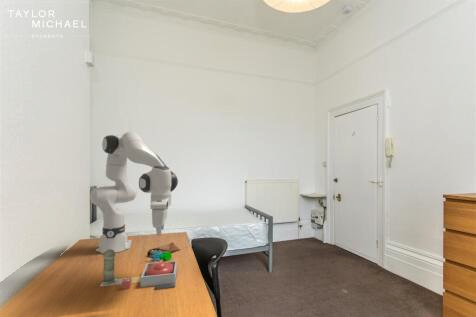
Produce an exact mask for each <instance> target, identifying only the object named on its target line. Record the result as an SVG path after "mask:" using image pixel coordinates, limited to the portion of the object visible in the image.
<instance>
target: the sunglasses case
mask: <svg viewBox="0 0 476 317" xmlns="http://www.w3.org/2000/svg"><path fill="white" fill-rule="evenodd" d="M160 248H161V251H160ZM155 249H156V251H157V254H158V253H159V251H160V253H162V252H169V253H171V254H174V253H177V252H178V251H181V249H180V248H179V247H178V246H177V245H176V244H175V243H174V242H171V243H168V244H163V245H161V246H158V247H156V248H150V249H149V250H148V251H147V254H146V255H147V257H149V258H151V259H152V258H154V257H151V256H149V255H155V256H156V254H155V253H154V252H153V251H155ZM152 250H153V251H152ZM159 258H160V256H159ZM156 260H158V258H157V259H156Z"/></svg>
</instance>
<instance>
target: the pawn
mask: <svg viewBox="0 0 476 317" xmlns="http://www.w3.org/2000/svg"><path fill="white" fill-rule="evenodd" d="M102 254H103V253H102ZM102 258H103V279H102V281H101V284H102V285H108V286H111V285H110V284H113V283H114V282H115V279H116V277H115V258H116V253H115V251H114V250H111V249H109V250H107V251H105V252H104V254H103V255H102ZM115 283H116V282H115ZM115 283H114V284H115Z"/></svg>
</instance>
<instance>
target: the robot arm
mask: <svg viewBox="0 0 476 317" xmlns="http://www.w3.org/2000/svg"><path fill="white" fill-rule="evenodd" d="M101 147H102V150H103V152H104V153H106V154H107V158H106V166H105V177H106V178H107V179H109V180H110V181H112V182H114V183H115V185H110V186H109V185H108V186H107V185H105V186H99V187H95V188H93V189H92V190H91V192H90V194H89V199H90V200H89V201H90V202H91V204H93V205H95V206H96V207H97V208H99V210H100V211H101V213H102V218H103V227H102V230H101V231H102V232H101V233H102V235H100V237H99V244H98V248H96V250H95V251H96V252H99V253H100V254H104V252H105V251H107V250H109V249H111V250H114V251H115V254H116V253H120V252H123V251H126V250H130V248H131V245H132V240H131V239H128V237H129V236H128V233H127V232H126V223H125V213H124V211H122V210H121V209H119V208H115V204H123V203H124V204H125V203H128V202H132V201H134V200H135V199H136V197H137V189H136V188H135V187H134V186H133V184H131V183H130V182H129V180H128V178H127V177H128V176H127V170H128V169H127V168H128V160H129V161H130V162H132V163H134V164H139V165H143V166H149V167H151V168H152V169H151V170H150V171H148V172H145V173H143V174H141V175H140V177H139V179H138V188H139V190H141V191H142V192H143V193H146V194H148V193H149V194H150V193H151V194H150V209H151V220H152V221H151V223H152V227H153V228H155V230H156V232H155V233H156V236H157V237H160V236H162V230H164V229H165V221H166V219H167V217H168V209H169V206H171V205H172V192H173V191H174V190H176V188H177V186H178V184H179V183H178V182H179V180H178V177H177V175H176V174H175V173H174V172H173V171H172V170H171V168H170V167H168V166H167V164H165V162H164V161H163V160H162V159H161V157H160V156H159V155H158V154H156V153H155V152H153V151H152V150H151V149H150V148H149V147H148V146H147V145H146V143H145V142H144V140H143V139H142V138H141V136H140V135H139V134H138V133H137V132H135V131H126V132H125V133H123V134H122V135H114V134H113V135H112V134H109V135H105V137H104V138H103V139H102V143H101Z"/></svg>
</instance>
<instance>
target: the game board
mask: <svg viewBox="0 0 476 317" xmlns="http://www.w3.org/2000/svg"><path fill="white" fill-rule="evenodd" d="M159 262H160V261H158V262H157V261H156V262H149V263H148V262H147V263H146V265H145V268H144V269H143V271H142V274H141V276H133V277H131V276H130V277H123V278H115V282H114V283H113V284H110V285H102V283H101V284H100V285H99V287H106V286H108V287H109V286H115V285H117V286H118V285H121V290H128V289H130V288H131V287H132V284H136V283H140V287H141V288H144V287H153V286H154V288H153V290H155V291H156V290H162V289H172V288H173V289H174V288H175V287H176V283H177V275H178V266H177V265H178V260H171V261H170V260H168V261H167V262H169V263H172V264H173V273H172V274H162V275H152V276H147V268H148V267H149V266H150V265H152V264H155V263H159Z"/></svg>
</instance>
